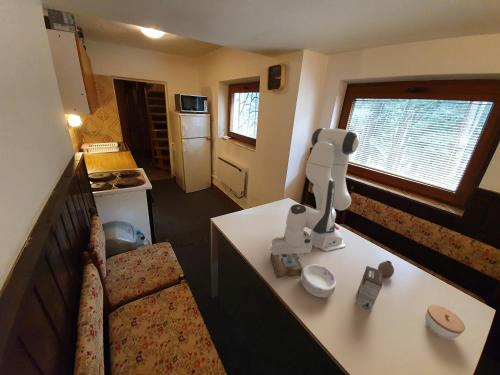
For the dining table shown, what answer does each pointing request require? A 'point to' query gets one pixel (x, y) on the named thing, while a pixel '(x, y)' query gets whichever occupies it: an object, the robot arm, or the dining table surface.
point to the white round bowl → (318, 280)
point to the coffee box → (369, 288)
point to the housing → (285, 271)
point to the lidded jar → (443, 322)
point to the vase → (386, 269)
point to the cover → (289, 261)
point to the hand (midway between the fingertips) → (289, 258)
